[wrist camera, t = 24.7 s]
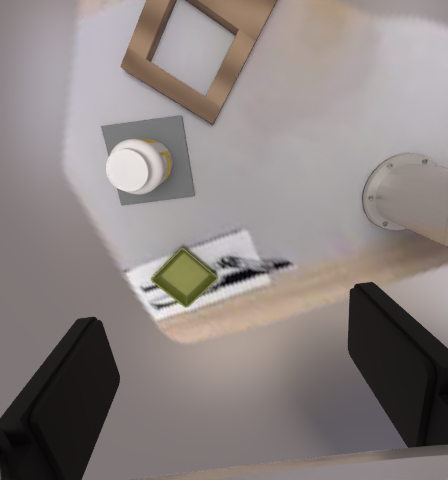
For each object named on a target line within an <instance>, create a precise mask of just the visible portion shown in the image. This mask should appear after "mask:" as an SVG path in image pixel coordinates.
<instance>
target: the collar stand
mask: <svg viewBox="0 0 448 480" xmlns="http://www.w3.org/2000/svg"><path fill="white" fill-rule="evenodd" d="M186 1H188V2H189V3H190V4H192V5H193V6H195V7H196V8H197V9H199V10H200V11H202V12H203V13H205V14H206V15H207V16H209V17H210V18H212V19H213V20H215V21H216V22H217V23H219V24H220V25H222V26H223V27H225V28H226V29H227V30H229V31H230V32H232V33H233V34H235V35H236V37H235V39H234V41H233V43H232V45H231V47H230V49H229V51H228V53H227V55H226V57H225V59H224V61H223V63H222V65H221V67H220V69H219V71H218V73H217V75H216V77H215V79H214V81H213V83H212V85H211V87H210V89H209V91H208V93H207V95H206V97H205V96H203V95H202V94H200V93H199V92H197V91H195V90H194V89H192V88H191V87H189V86H187V85H186V84H184V83H183V82H181V81H180V80H178V79H176V78H175V77H173V76H172V75H170V74H169V73H167V72H165V71H164V70H162V69H161V68H159V67H158V66H156V65H154V64H153V63H151V60H152V58H153V55H154V53H155V50H156V48H157V46H158V43H159V41H160V39H161V36H162V34H163V31H164V29H165V27H166V24H167V22H168V19H169V17H170V15H171V12H172V10H173V8H174V5H175V3H176V0H146V2H145V5H144V8H143V10H142V13H141V15H140V18H139V20H138V23H137V25H136V28H135V31H134V33H133V36H132V38H131V41H130V43H129V46H128V49H127V51H126V54H125V56H124V59H123V61H122V64H121V66H120V67H121V68H122V69H124V70H125V71H126V72H128V73H130V74H131V75H133V76H134V77H136V78H138V79H139V80H141V81H143V82H144V83H146V84H147V85H149V86H151V87H152V88H154V89H156V90H157V91H159V92H160V93H162V94H164V95H165V96H167V97H168V98H170V99H172V100H173V101H175V102H177V103H178V104H180V105H181V106H183V107H185V108H186V109H188V110H190V111H191V112H193V113H194V114H196V115H198V116H199V117H201V118H203V119H204V120H206V121H207V122H209V123H211V124H212V125H213V124H214V122H215V120H216V118H217V116H218V114H219V112H220V110H221V108H222V106H223V104H224V102H225V100H226V98H227V96H228V95H229V93H230V91H231V89H232V87H233V85H234V83H235V81H236V79H237V77H238V75H239V73H240V71H241V69H242V67H243V65H244V64H245V62H246V60H247V58H248V56H249V54H250V52H251V50H252V48H253V46H254V44H255V42H256V40H257V38H258V36H259V34H260V33H261V31H262V29H263V27H264V25H265V23H266V21H267V19H268V17H269V15H270V13H271V11H272V9H273V7H274V5H275V3H276V1H277V0H186Z"/></svg>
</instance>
